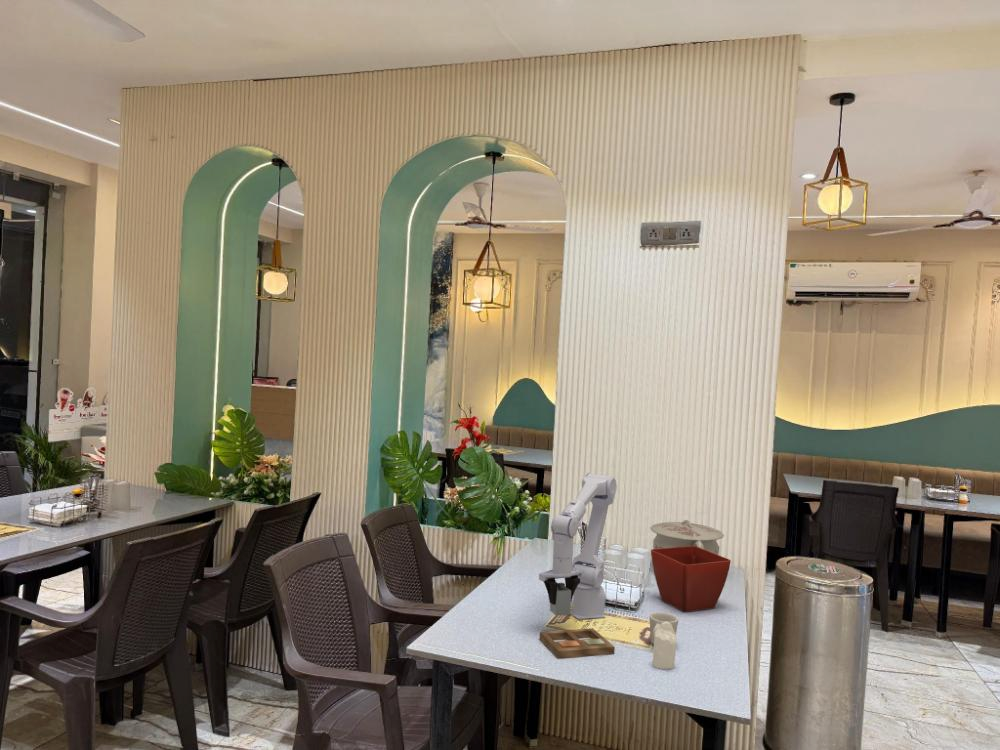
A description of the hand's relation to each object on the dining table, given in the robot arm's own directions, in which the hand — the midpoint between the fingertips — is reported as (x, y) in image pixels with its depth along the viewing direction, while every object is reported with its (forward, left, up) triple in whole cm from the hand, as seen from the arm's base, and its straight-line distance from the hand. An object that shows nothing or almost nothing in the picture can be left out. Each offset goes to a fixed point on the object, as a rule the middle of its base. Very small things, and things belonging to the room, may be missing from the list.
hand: (560, 602), depth 219 cm
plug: (0, 0, -3) cm, 3 cm away
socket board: (0, +13, -8) cm, 15 cm away
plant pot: (-52, -14, -8) cm, 54 cm away
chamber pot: (-70, -46, -8) cm, 85 cm away
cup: (-24, +17, -8) cm, 31 cm away
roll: (-18, +29, -8) cm, 35 cm away
